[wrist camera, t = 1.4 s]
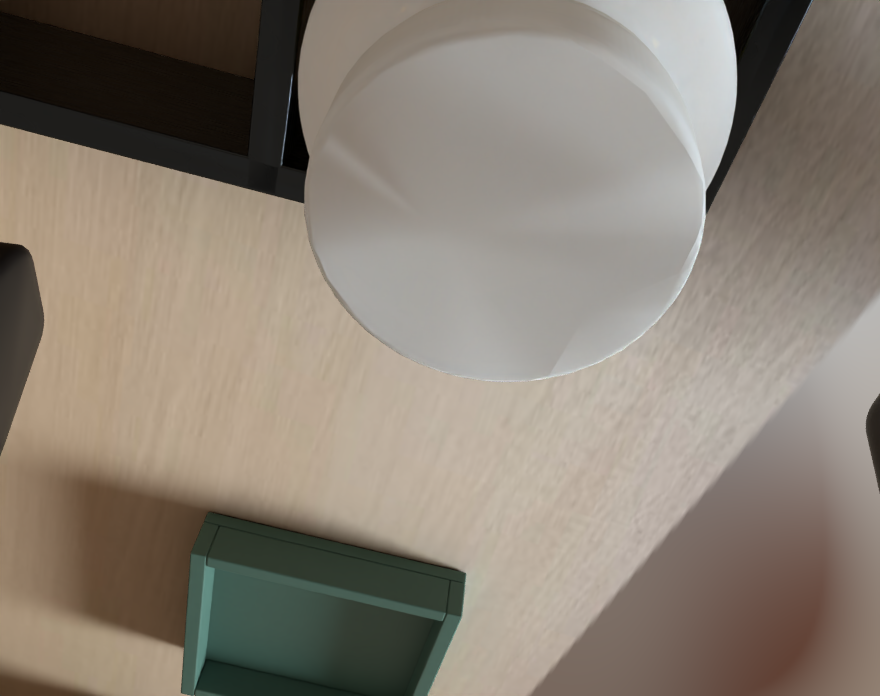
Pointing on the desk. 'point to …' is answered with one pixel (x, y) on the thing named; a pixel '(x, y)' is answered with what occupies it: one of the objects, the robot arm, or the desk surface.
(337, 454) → the desk surface
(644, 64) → the pill bottle
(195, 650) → the tray
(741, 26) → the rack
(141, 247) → the desk surface
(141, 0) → the desk surface
